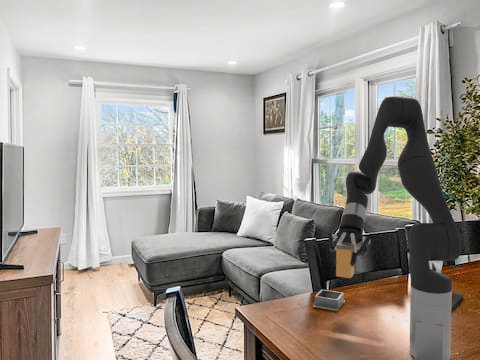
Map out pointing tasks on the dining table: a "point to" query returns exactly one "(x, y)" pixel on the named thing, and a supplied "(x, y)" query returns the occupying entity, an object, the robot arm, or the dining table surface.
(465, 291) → the dining table surface
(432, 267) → the beer glass
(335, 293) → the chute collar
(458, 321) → the dining table surface
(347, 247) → the chute block
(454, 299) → the smart home device
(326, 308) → the cream flat slab
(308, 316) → the dining table surface
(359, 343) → the dining table surface
